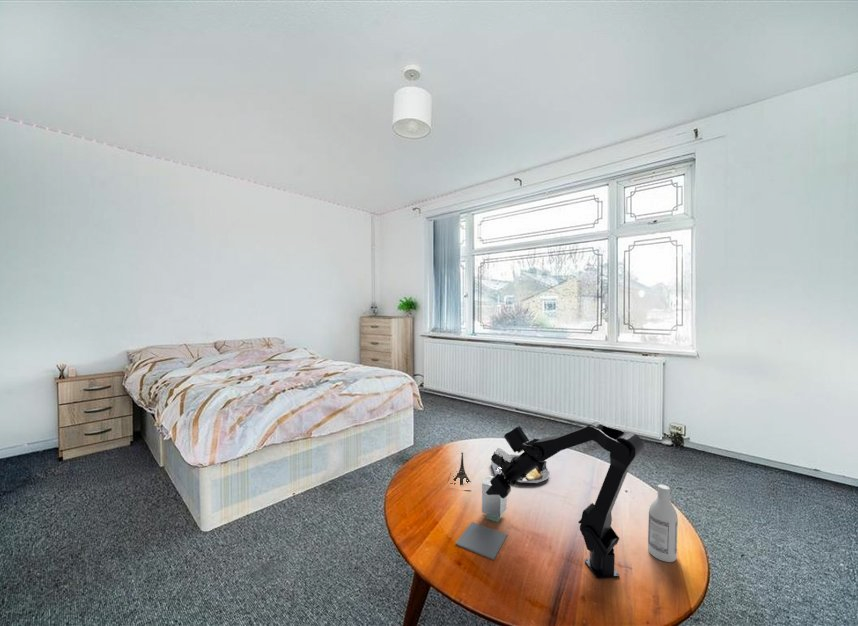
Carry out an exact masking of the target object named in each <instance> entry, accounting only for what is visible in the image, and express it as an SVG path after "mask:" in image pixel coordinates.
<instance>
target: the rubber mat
mask: <svg viewBox="0 0 858 626" xmlns="http://www.w3.org/2000/svg"><path fill="white" fill-rule="evenodd" d="M507 537H508V534H507V533H505V532H501V531H499V530H497V529H493V528H490V527H488V526H486V525H485V526H484V525H482V524H479V523H476V522H473V521H471V522H470V523H469V525H468V526H467V527H466V529H465V530H464V532H463V533H462V534H461V535H460V537H459V538H458V539H457V540H456V542H455V545H456V546H458V547H461V548H463V549H464V550H465V549H466V550H468V551H471V552H472V553H475V554H478V555H480V556H482V557H486V558H487V559H490V560H493V561H494V560H495V559H496V557H497V555H498V554H499V552H500V550H501V548H502V546H503V544H504V542H505V541H506V539H507Z"/></svg>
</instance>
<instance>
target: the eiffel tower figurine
mask: <svg viewBox="0 0 858 626" xmlns="http://www.w3.org/2000/svg"><path fill="white" fill-rule="evenodd" d="M460 456H461V459H460V467H459V470H458V473H457V475H455V476H454V477H455V478H454V479H453V480H454V481H456V479H457V478H460V485H462V486H464V485H463V479H464V478H466V482H467V484H469V483H468V482H470V483H472V481H471V480H470V479H469V477H468V475H467V474H466V469H465V466H464V465H465V464H464V452H463V451H462V452H461V455H460ZM467 480H468V481H467ZM448 481H449V479H448ZM450 484H453V483H450ZM455 484H456V483H454V485H455Z"/></svg>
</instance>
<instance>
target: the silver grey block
mask: <svg viewBox="0 0 858 626" xmlns="http://www.w3.org/2000/svg"><path fill="white" fill-rule="evenodd" d="M494 476H495V475H493V476H492V475H490V474H489V475H488V476H487V477H485V479H484V480H483V482H482V483H481V513H483V514H486V515H487V514H488V515H491V516H494V517H497V518H500V519H501V518H502V516H503V515H504V513H505V512H506V510H507V505H508V504H507V499H508V498H507V497H508V496H506V497H505V498H504V499H503V498H501V497H500V495H487V493H486V491H487V490H488V489H489V488H490V487H491V485H492V484H491V483H490V480H491V479H492V478H493V477H494Z"/></svg>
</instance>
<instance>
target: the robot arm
mask: <svg viewBox="0 0 858 626" xmlns="http://www.w3.org/2000/svg"><path fill="white" fill-rule="evenodd" d="M503 437H504V440H505V441H506V442H507V444H508V446H509V447H510V448H511V450H512V451H513V453H514V454H515V453H518V454H519V453H520V454H519V456H517V457H516V456H515V457H514V458H513V457H511V456H510V455H511V454H510V453H508V452H506V451H505V450H504V449H502V448H500V447H498V448H497V449H495V450H494V452H493V454H492V456H491V457H490V460H491V462H492V461H493V463H495V464H496V465H498V466H500V467H502V469H500V470H502V472H501V474H494V475H493V476H494V477H493V478H492V479H491V480H490V483H491V484H492V485H491V487H490V488H489V489H488V490H487V491H486V493H487V495H500V497H501V498H503V499H504V498H505V497H506V496H507V497H508V496H509V494H510V493H511V491H512V490H511V489H512V487H511V485H510V484H511V483H512V485H513V486H516V485H517V483H519V482H518V480H520V479H521V478H523V479H526V478H525V477H526V475H527V474H528V473H530V472H531V471H532V470H534V469H535V468H536V467H538V468H539V469H540V471H543V470H545V469H546V468H547V461H546V460H549V459H550V458H551V457H553V456H555V455H556V454H558V453H560V452H561V451H564V450H568V449H570V448H572V447H575V446H576V447H577V446H580V445H581V444H585V443H589V442H592V441H593V442H595V443H597V444H598V445H599V446H600V447H601V448H602V449H604V450H605V451H607V452H609V459H610V460H609V467H608V470H607V472H606V475H605V477H604V480H603V483H602V484H601V488H600V490H599V492H598V495H597V497H596V501H595V503H593V502H591V503H590V504H589V505H588V506H586V507H585V508H584V510H583V511H582V514H581V519H580V520H579V521H577V522H578V524H579V531H580V532H581V535H582V537H583V540H584V543H585V546H586V549H587V551H589V558H584V563H586V566H588V568H589V570H590V571H591V572H592V573H593V574H594V576H595V577H596V578H597V579H607V578H608V579H610V578H620V573H619V571H618V570H617V569H616V568H615V562H616V561H615V557H616V555H615V550H614V549H615V546H616V545H618V543H619V540H620V537H619V536H618V535H617V533H616V532H615V530H614V529H613V528H612V521H613V518H612V511H613V508H614V506H615V504H616V500H617V499H618V496H619V494H620V491H621V489H622V486H623V484H624V482H625V479H626V476H627V474H628V472H629V470H630V468H631V467H632V466H633V465H634V464H635V462H636V461H637V459H639V456H640V455H642V453H643V451H644V449H645V443H644V442H643V440H642V438H641V437H639V435H637V434H635V433H633V432H626V431H623V430H622V429H619V428H616V427H615V428H614V427H611V426H607V425H605V424H602V423H601V422H593V423H590V424H588V425H586V426H584V427H581V428H578V429H576V430H573V431H570V432H568V433H565V434H562V435H560V436H559V435H558V436H548V437H547V436H546V437H543V438H541V439H540V438H532V439H530V438H528V437H527V435H526V433H525V432H524V431H523V429H522V427H521V426H520V425H519V426H516V427H515V428H514V429H511V430H510V431H508V432H507V433H505V434H504V435H503ZM521 452H522V453H521Z"/></svg>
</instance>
